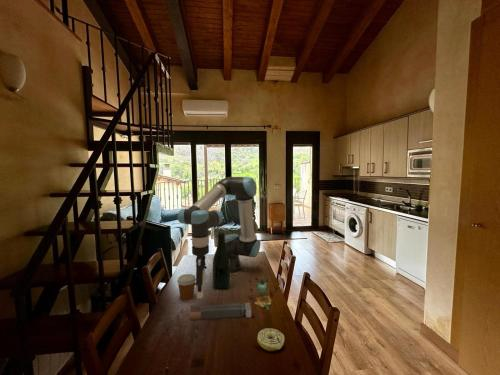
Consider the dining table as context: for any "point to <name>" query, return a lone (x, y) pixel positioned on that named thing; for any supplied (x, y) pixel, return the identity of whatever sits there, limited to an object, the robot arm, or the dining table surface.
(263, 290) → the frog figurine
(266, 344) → the decorated donut
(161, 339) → the dining table surface
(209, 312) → the tong arm near
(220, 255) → the beer bottle
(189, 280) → the disposable coffee cup
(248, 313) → the tong hinge cap
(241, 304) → the tong arm far
